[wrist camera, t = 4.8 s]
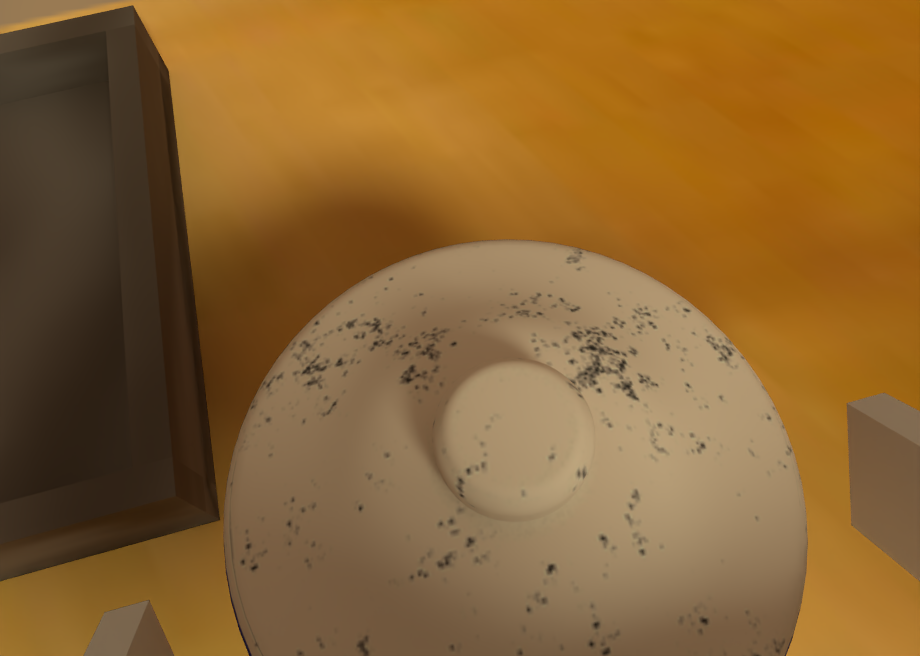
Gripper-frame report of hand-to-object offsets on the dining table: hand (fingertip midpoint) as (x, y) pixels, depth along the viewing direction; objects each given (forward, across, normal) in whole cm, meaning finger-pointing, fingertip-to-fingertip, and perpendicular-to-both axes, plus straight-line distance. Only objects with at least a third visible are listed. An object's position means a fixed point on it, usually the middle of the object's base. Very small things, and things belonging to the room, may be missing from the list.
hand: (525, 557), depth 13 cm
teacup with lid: (+4, 0, -5) cm, 6 cm away
